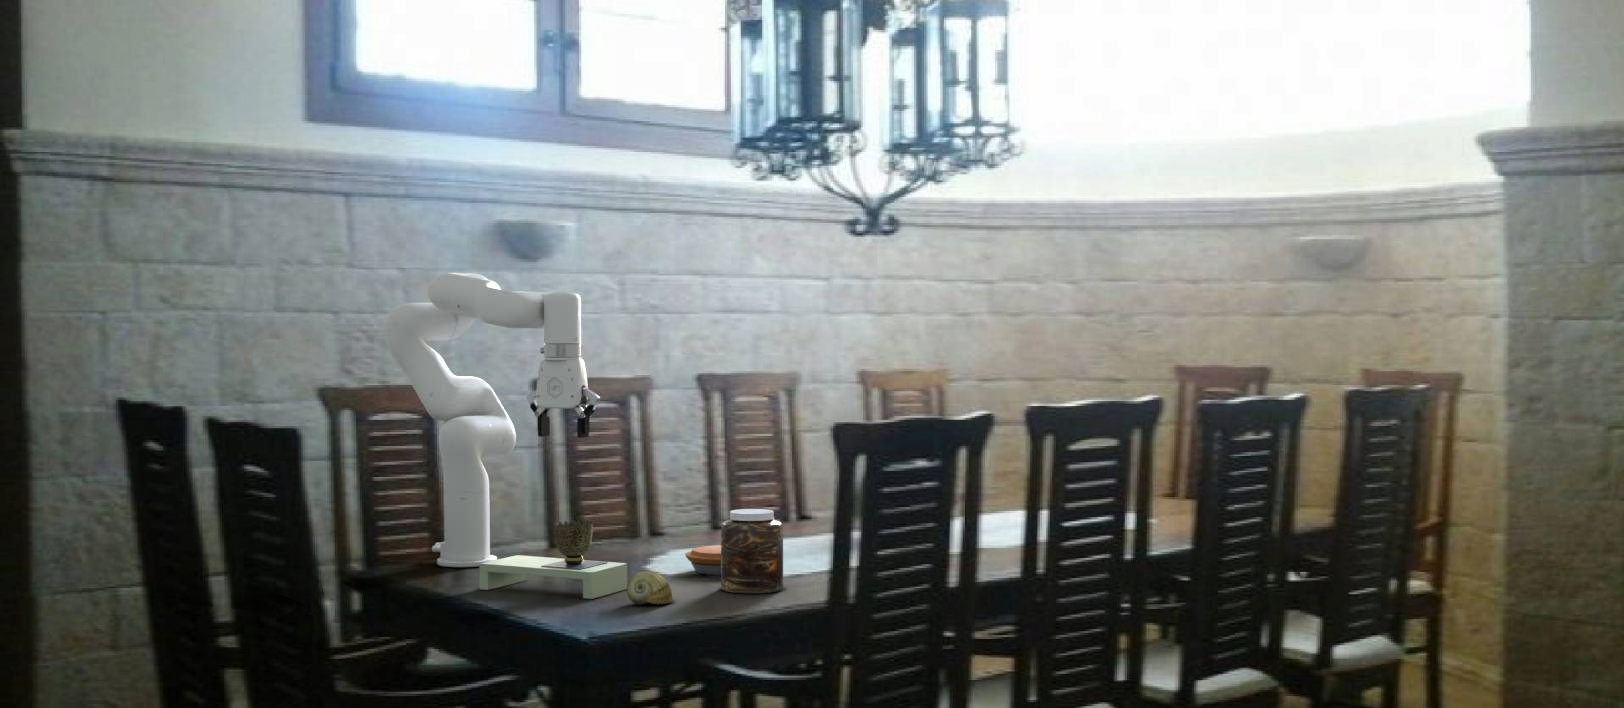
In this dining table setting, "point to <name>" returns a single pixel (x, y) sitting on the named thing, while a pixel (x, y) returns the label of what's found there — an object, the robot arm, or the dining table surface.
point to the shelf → (555, 573)
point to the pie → (706, 559)
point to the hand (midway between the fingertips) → (563, 436)
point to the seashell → (649, 589)
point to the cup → (573, 540)
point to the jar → (752, 552)
